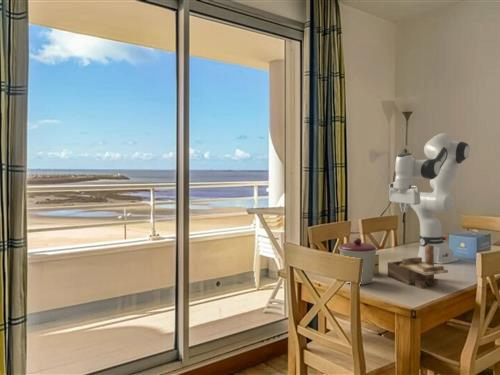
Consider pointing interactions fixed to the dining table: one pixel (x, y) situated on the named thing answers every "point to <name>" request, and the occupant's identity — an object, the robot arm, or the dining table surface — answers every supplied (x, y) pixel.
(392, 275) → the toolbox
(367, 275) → the canister
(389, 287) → the dining table surface
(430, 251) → the reddish brown cylinder
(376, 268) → the puzzle cube
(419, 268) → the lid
